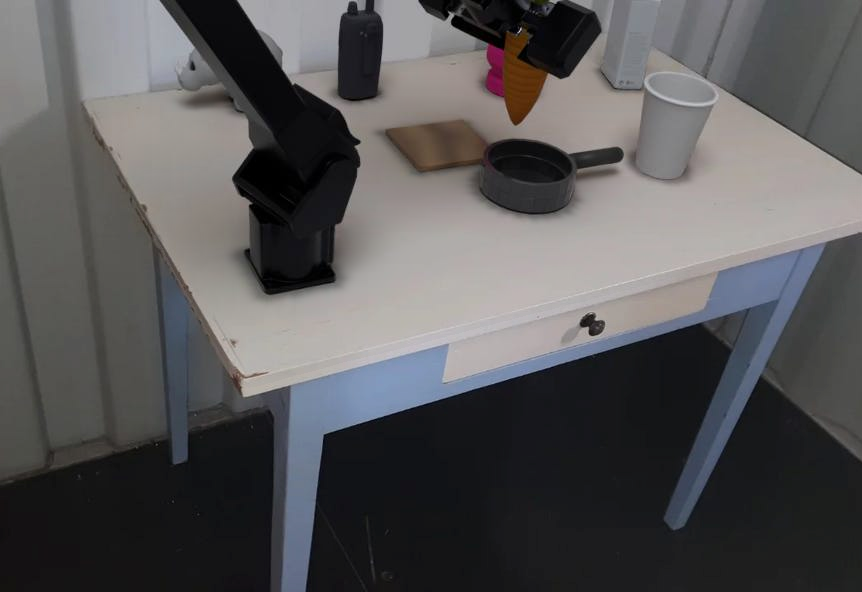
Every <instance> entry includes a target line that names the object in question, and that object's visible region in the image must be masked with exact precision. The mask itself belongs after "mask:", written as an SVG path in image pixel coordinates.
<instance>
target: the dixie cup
mask: <svg viewBox="0 0 862 592" xmlns="http://www.w3.org/2000/svg"><path fill="white" fill-rule="evenodd" d="M643 86H644V90H643V91H644V92H643V98H642V101H643V102H642V107H641V116H640V122H639V129H638V130H639V131H638V137H637V138H638V139H637V147H636V154H635V163H634V165H635V167H636V168H637V169H638V171H640V172H641V173H642V174H645V175H647V176H649V177H651V178H655V179H660V180H675V179H678V178H680V177H682V176H683V174H684V172H685V170H686V167H687V165H688V163H689V161H690V159H691V157H692V155H693V153H694V150H695V148H696V145H697V143H698V141H699V139H700V137H701V135H702V132H703V130H704V128H705V125H706V123H707V122H708V119H709V116H711V115H710V114H711V112H712V110H713V108H714V106H715V104H716V103H717V102H719V99H720V95H719V91H717V89H716V88H715V87H714V86H713V85H712V84H711V83H709V82H708V81H706V80H704V79H702V78H700V77H697V76H694V75H691V74H688V73H683V72H679V71H667V70H666V71H656V72H653V73H650V74H648V75H647V76H646V77H644V80H643Z"/></svg>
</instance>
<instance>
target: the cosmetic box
mask: <svg viewBox="0 0 862 592" xmlns="http://www.w3.org/2000/svg"><path fill="white" fill-rule="evenodd" d="M661 5H662V0H613V5H612V10H611V16H610V20H609V26H608V30H607V37H606V42H605V46H604V47H605V48H604V52H603V57H602V63H601V69H600V71H601V72H602V74H603V75H604V76H605V77H606V79H607V80H608V82H610V84H611V85H612V87H613V88H615V89H619V90H641V89H642V88H643V86H644V80H645V76H646V71H647V66H648V62H649V57H650V54H651V49H652V45H653V40H654V37H655V36H654V35H655V31H656V26H657V23H658V18H659V12H660V10H661Z"/></svg>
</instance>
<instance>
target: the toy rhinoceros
mask: <svg viewBox="0 0 862 592" xmlns="http://www.w3.org/2000/svg"><path fill="white" fill-rule="evenodd" d="M256 30H257V31H258V33H259V34H260V36H261V37H262V39H263V40H264V42H265V43H266V45H267V46H268V48H269V49H270V51H271V52H272V54H273V55H274V57H275V58H276V60H277V62H278V63H279V65H280V66H281V68H282V69H283V56H284V54H283V53H284V52H283V50H282V48H281V47H280V46H279V45H278V44H277V43H276V41H275V40H274V39H273V38H272V37H271V36H270V35H269V34H268V33H266V32H265V31H263V30H260V29H257V28H256ZM188 54H189V55H188V61H187V63H182V67H181V66H180V65H179V64H180V63H179V61H178V59H176V60H175V62H174V64H173V70H174V72H175V74H176V76H177V82H178V84H179V86H180V87H181V88H182V89H183V90H185V91H187V92H197V91H199V90H200V89H201V88H203V87H205V86H214V85H217V84H219V83H221V82H220V80H219V79H218V78H217V76H216V75H215V74H214V72H213V71H212V70H211V68H210V67H209V66H208V64H207V63H206V62H205V60H204V59H203V58H202V56H201V55H200V54H199V52H198V51H197V50H196V48H195V47H194V48H193V49H192V51H191V52H190V53H188ZM225 93H226V96H228V97H230V98H232V96H231V95H230V94H229V92H228V91H227V90H226V89H225ZM233 105H234V108H235V110H237V111H240V112H243V111H242V109H241V108H240V107H239V105H238V104H237V103H236V101H235V100H234V99H233Z"/></svg>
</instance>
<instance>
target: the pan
mask: <svg viewBox="0 0 862 592" xmlns="http://www.w3.org/2000/svg"><path fill="white" fill-rule="evenodd" d="M488 145H489V146H487V147H486V149H485V150H484V152H483V157H482V163H480V169H479V170H480V172H479V177H478V186H479V188H480V190H481V191H482V193H483V194H484V195H485V196H486V197H487V198H488V199H490V200H492V201H493V202H495V203H496V204H497V205H500V206H502V207H505V208H506V209H509V210H513V211H517V212H521V213H530V214H542V213H549V212H554V211H558V210H559V209H562V208H564V207H565V206H566V205H567V204H569V202H570V200H571V198H572V195H573V190H574V187H575V181H576V177H577V172H578V169H577V166H576V163H575V161H574V160H573V158H572V157H571V156H570V155H568V154H569V153H568V152H566V151H565V150H563V149H561V148H559V147H557V146H555V145H552V144H550V143H548V142H544V141H540V140H536V139H530V138H520V137H519V138H517V137H515V138H504V139H499V140H497V141H494V142H492V143H490V144H488Z"/></svg>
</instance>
